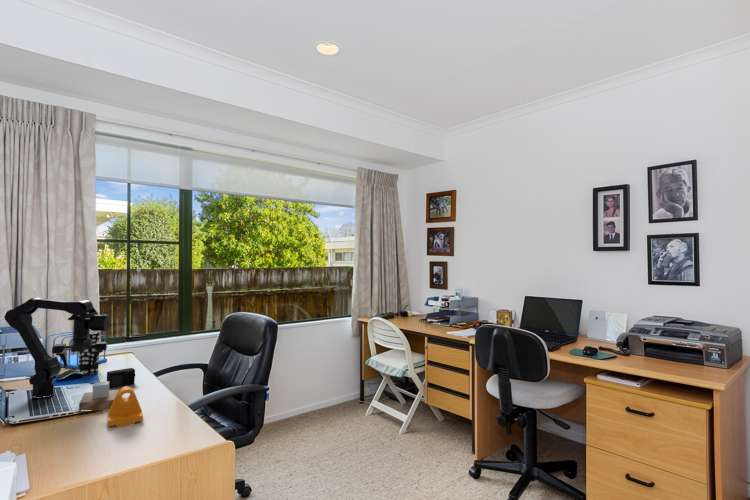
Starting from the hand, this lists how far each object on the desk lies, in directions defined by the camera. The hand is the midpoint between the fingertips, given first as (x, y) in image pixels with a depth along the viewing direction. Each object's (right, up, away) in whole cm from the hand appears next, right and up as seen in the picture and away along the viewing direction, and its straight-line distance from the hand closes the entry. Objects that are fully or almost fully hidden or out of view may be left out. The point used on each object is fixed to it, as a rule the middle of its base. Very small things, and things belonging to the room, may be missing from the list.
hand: (79, 367), depth 178 cm
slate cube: (+14, -9, -8) cm, 19 cm away
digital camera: (+8, -13, +16) cm, 22 cm away
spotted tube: (-19, -12, +33) cm, 40 cm away
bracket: (+33, -13, -24) cm, 43 cm away
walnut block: (+14, -13, -8) cm, 21 cm away
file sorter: (-38, -12, +50) cm, 64 cm away
